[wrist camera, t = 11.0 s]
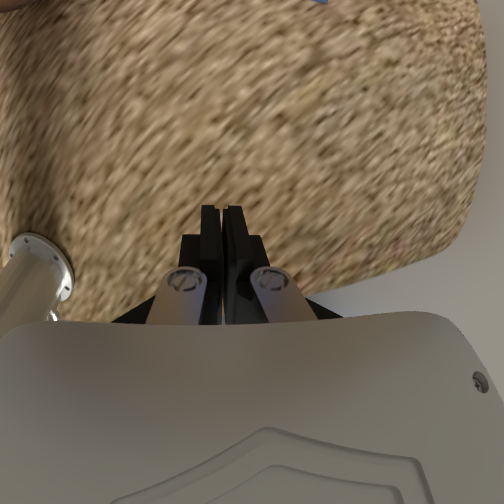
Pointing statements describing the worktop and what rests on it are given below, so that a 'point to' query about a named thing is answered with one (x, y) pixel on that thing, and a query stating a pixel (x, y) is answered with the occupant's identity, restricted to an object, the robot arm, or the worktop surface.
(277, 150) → the worktop surface
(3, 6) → the wooden sphere
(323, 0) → the blue square tile
